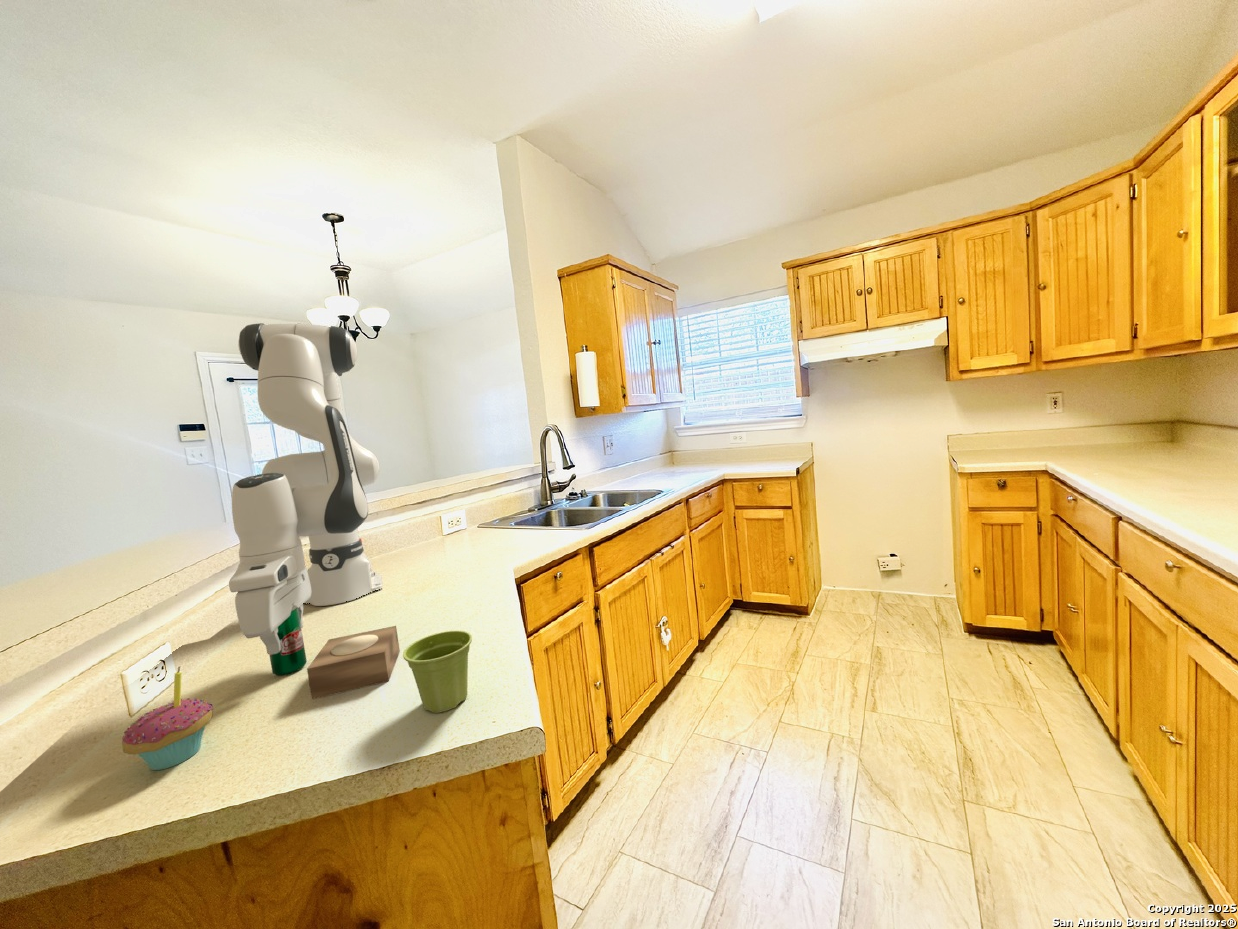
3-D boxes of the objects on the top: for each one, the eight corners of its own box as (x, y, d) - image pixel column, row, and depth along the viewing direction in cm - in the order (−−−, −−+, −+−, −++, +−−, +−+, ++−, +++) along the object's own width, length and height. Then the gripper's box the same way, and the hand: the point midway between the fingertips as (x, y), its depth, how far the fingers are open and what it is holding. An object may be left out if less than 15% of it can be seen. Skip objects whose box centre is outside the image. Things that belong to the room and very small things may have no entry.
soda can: (289, 678, 79) (278, 611, 78) (265, 677, 80) (254, 611, 79) (314, 662, 83) (303, 599, 82) (291, 662, 85) (281, 600, 84)
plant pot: (413, 694, 70) (405, 639, 69) (477, 676, 73) (470, 624, 72) (408, 729, 61) (399, 668, 60) (481, 708, 64) (473, 649, 63)
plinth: (333, 666, 81) (328, 638, 81) (399, 651, 85) (395, 624, 84) (311, 699, 71) (306, 667, 70) (388, 681, 74) (384, 650, 74)
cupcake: (226, 727, 66) (211, 648, 65) (206, 763, 58) (189, 674, 57) (145, 753, 62) (128, 668, 61) (113, 794, 54) (93, 699, 53)
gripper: (277, 555, 89) (288, 623, 90) (222, 586, 69) (237, 672, 70) (314, 549, 91) (325, 616, 92) (270, 577, 71) (284, 662, 72)
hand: (286, 640), depth 81 cm, fingers open, 8 cm apart
